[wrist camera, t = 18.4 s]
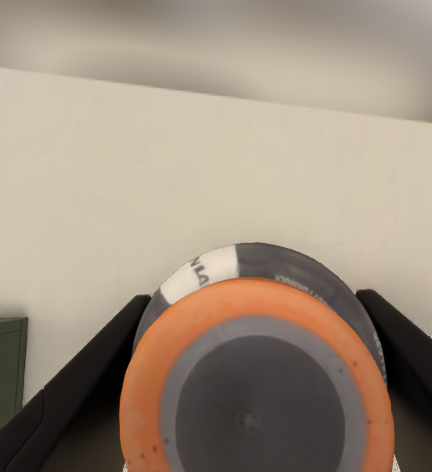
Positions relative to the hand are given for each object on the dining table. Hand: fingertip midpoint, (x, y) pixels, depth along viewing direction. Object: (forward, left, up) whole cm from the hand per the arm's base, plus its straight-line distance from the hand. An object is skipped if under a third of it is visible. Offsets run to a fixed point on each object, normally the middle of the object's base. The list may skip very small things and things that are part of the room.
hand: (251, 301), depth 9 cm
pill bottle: (-1, 0, -7) cm, 7 cm away
